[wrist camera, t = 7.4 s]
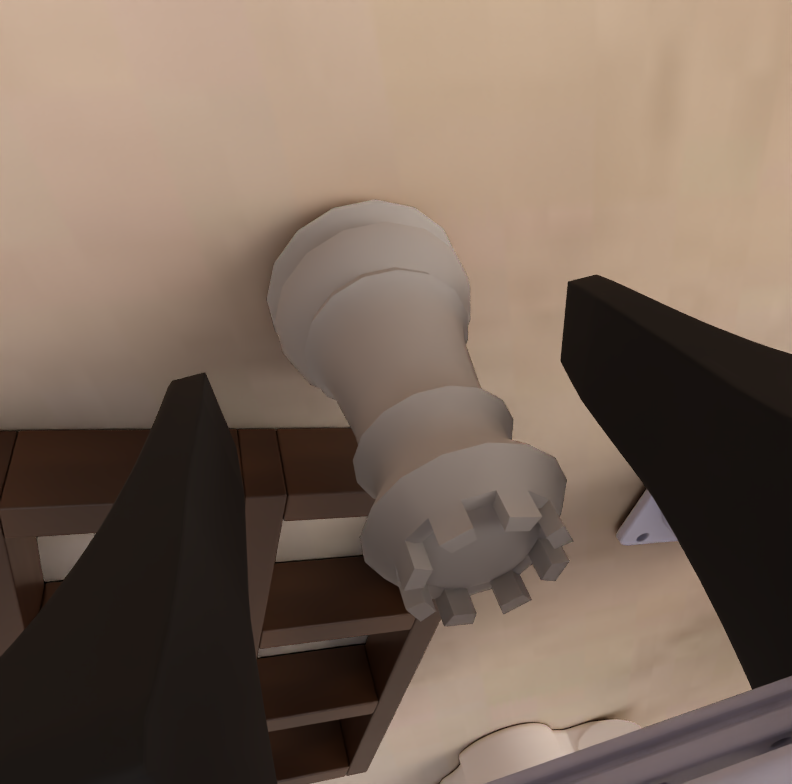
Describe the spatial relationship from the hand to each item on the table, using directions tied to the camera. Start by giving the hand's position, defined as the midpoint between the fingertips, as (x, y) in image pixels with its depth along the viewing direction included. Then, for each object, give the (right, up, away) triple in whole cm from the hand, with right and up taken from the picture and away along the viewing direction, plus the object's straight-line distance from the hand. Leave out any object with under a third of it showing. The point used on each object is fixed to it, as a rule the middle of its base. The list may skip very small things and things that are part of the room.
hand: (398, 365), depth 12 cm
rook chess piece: (-1, +2, +2) cm, 3 cm away
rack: (-6, -9, +10) cm, 15 cm away
